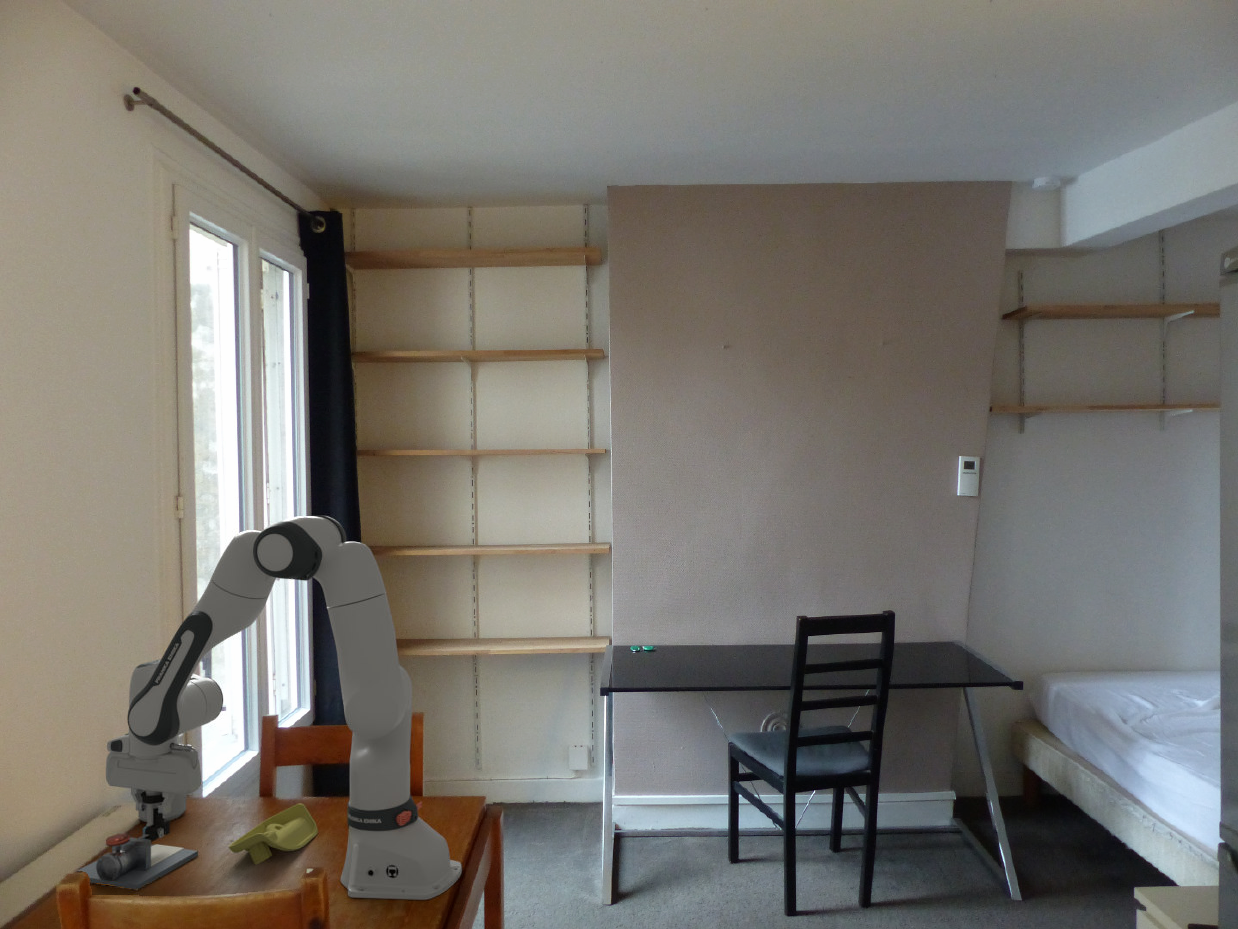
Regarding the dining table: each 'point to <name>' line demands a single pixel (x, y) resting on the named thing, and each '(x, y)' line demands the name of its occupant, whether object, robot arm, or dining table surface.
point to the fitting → (124, 856)
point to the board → (161, 864)
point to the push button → (154, 816)
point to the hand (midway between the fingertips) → (153, 811)
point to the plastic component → (278, 833)
